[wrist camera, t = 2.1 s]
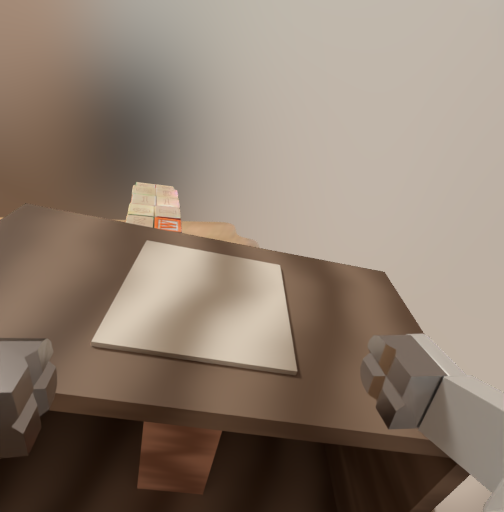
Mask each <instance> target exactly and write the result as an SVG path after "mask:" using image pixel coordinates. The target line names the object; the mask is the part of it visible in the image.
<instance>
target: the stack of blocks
mask: <svg viewBox="0 0 504 512" xmlns="http://www.w3.org/2000/svg"><path fill="white" fill-rule="evenodd" d="M125 222H126V223H131V224H136V225H141V226H147V227H152V228H157V229H162V230H167V231H173V232H178V233H182V228H181V215H180V204H179V199H178V192H177V190H174V187H172V186H164V185H157V184H156V185H154V184H147V183H139V182H136V185H133V190H132V199H131V203H130V205H129V209H128V215H127V217H126V221H125Z"/></svg>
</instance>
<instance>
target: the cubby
mask: <svg viewBox="0 0 504 512" xmlns="http://www.w3.org/2000/svg"><path fill="white" fill-rule="evenodd" d="M406 334H424V333H423V331H422V330H421V328H420V327H419V325H418V323H417V322H416V320H415V319H414V317H413V316H412V314H411V313H410V311H409V310H408V308H407V307H406V305H405V303H404V302H403V300H402V299H401V297H400V296H399V294H398V292H397V291H396V289H395V288H394V286H393V285H392V283H391V282H390V280H389V278H388V277H387V275H386V274H385V272H382V271H377V270H371V269H366V268H361V267H356V266H351V265H345V264H340V263H335V262H330V261H324V260H319V259H314V258H308V257H303V256H298V255H293V254H288V253H282V252H277V251H272V250H266V249H262V248H256V247H251V246H246V245H241V244H236V243H230V242H225V241H220V240H215V239H209V238H204V237H199V236H194V235H188V234H183V233H178V232H173V231H167V230H162V229H157V228H152V227H147V226H141V225H136V224H131V223H126V222H120V221H115V220H110V219H105V218H99V217H94V216H89V215H84V214H78V213H73V212H68V211H62V210H58V209H52V208H47V207H42V206H36V205H31V204H24V205H22V206H21V207H19V208H18V209H16V210H15V211H13V212H12V213H10V214H9V215H7V216H6V217H4V218H3V219H1V220H0V338H47V339H49V340H50V341H51V343H52V348H53V354H52V356H51V358H50V360H49V361H50V362H51V363H52V364H53V365H54V366H55V367H56V370H57V388H56V392H55V397H54V400H53V402H52V404H51V407H50V409H49V410H48V411H46V412H45V413H44V414H43V415H41V416H40V421H41V426H42V427H41V429H40V431H39V434H38V436H37V438H36V440H35V442H34V445H33V447H32V449H31V451H30V453H29V456H20V457H10V458H0V512H431V511H432V510H433V509H434V508H435V507H436V506H437V505H438V504H439V503H440V502H441V501H443V500H444V498H446V497H447V496H448V495H449V494H450V493H451V492H452V491H453V490H454V489H455V488H456V487H457V486H458V485H460V484H461V483H462V481H464V480H465V479H466V478H467V477H468V476H469V475H470V474H469V473H468V472H467V471H466V470H465V469H463V468H462V467H461V466H460V465H459V464H457V463H456V462H455V461H454V460H453V459H452V458H450V457H449V456H448V455H447V454H446V453H445V452H443V451H442V450H441V449H440V448H439V447H437V446H436V445H435V444H434V443H433V442H432V441H430V440H429V439H428V438H427V437H426V436H424V435H423V434H422V433H421V432H420V431H419V430H418V429H419V428H414V429H389V430H388V428H387V426H386V425H385V423H384V421H383V419H382V418H381V416H380V414H379V413H378V411H377V409H376V408H375V407H376V401H377V400H376V399H374V398H373V397H371V396H370V395H369V394H367V392H366V390H365V388H364V387H363V384H362V381H361V375H360V367H361V364H362V360H363V358H364V357H366V356H367V355H368V354H369V353H370V352H369V350H368V347H367V345H368V343H369V340H370V338H371V337H372V336H373V335H406ZM144 422H153V423H161V424H169V425H178V426H186V427H195V428H203V429H211V430H220V431H222V433H221V436H220V440H219V443H218V446H217V449H216V453H215V456H214V459H213V463H212V466H211V469H210V472H209V476H208V479H207V482H206V485H205V489H204V492H203V495H202V494H192V493H181V492H170V491H160V490H149V489H138V488H137V484H138V474H139V464H140V454H141V444H142V434H143V424H144Z"/></svg>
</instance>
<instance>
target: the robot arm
mask: <svg viewBox="0 0 504 512" xmlns="http://www.w3.org/2000/svg"><path fill="white" fill-rule="evenodd" d="M367 347H368V350H369V352H370V353H369V354H368V355H367V356H366V357H364V358H363V360H362V364H361V367H360V375H361V381H362V384H363V387H364V388H365V390H366V392H367V394H369V395H370V396H371V397H373V398H374V399H376V400H377V401H376V407H375V408H376V409H377V411H378V413H379V414H380V416H381V418H382V419H383V421H384V423H385V425H386V426H387V428H388V430H389V429H414V428H419V429H418V430H419V431H420V432H421V433H422V434H423V435H424V436H426V437H427V438H428V439H429V440H430V441H432V442H433V443H434V444H435V445H436V446H437V447H439V448H440V449H441V450H442V451H443V452H445V453H446V454H447V455H448V456H449V457H450V458H452V459H453V460H454V461H455V462H456V463H457V464H459V465H460V466H461V467H462V468H463V469H465V470H466V471H467V472H468V473H469V474H470V475H472V476H473V477H474V478H475V479H476V480H478V481H479V482H480V483H481V484H482V485H483V486H485V487H486V488H487V489H488V490H489V491H491V492H492V495H491V496H490V498H489V499H488V501H487V502H486V503H485V505H484V509H483V512H504V392H502V391H500V390H498V389H497V388H495V387H493V386H491V385H489V384H487V383H485V382H483V381H482V380H480V379H478V378H476V377H474V376H467V375H466V374H465V373H464V372H463V371H462V370H461V369H460V368H459V367H458V366H457V365H456V364H455V363H454V362H453V361H452V360H451V359H450V358H449V357H448V356H447V355H446V354H445V353H444V352H443V351H442V349H441V348H440V347H438V345H437V344H436V343H435V342H434V341H433V340H432V339H431V338H430V337H429V336H427V335H425V334H406V335H373V336H372V337H371V338H370V340H369V343H368V345H367ZM52 354H53V348H52V343H51V341H50V340H49V339H47V338H0V458H10V457H20V456H29V453H30V451H31V449H32V447H33V445H34V442H35V440H36V438H37V436H38V434H39V431H40V429H41V427H42V426H41V421H40V416H41V415H43V414H44V413H45V412H46V411H48V410H49V409H50V407H51V404H52V402H53V400H54V397H55V392H56V388H57V370H56V367H55V366H54V365H53V364H52V363H51V362H50V361H49V360H50V358H51V356H52Z"/></svg>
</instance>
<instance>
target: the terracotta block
mask: <svg viewBox="0 0 504 512" xmlns="http://www.w3.org/2000/svg"><path fill="white" fill-rule="evenodd" d="M221 433H222V431H220V430H211V429H203V428H195V427H186V426H178V425H169V424H161V423H153V422H144V424H143V434H142V444H141V454H140V464H139V474H138V484H137V488H138V489H149V490H160V491H170V492H181V493H192V494H202V495H203V492H204V489H205V485H206V482H207V479H208V476H209V472H210V469H211V466H212V463H213V459H214V456H215V453H216V449H217V446H218V443H219V440H220V436H221Z"/></svg>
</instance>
